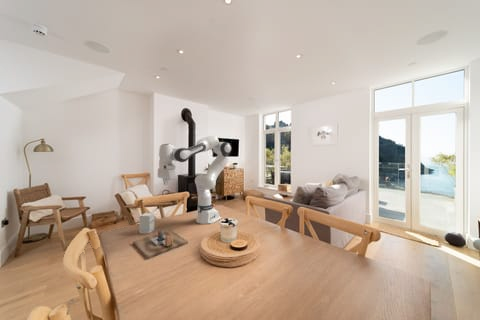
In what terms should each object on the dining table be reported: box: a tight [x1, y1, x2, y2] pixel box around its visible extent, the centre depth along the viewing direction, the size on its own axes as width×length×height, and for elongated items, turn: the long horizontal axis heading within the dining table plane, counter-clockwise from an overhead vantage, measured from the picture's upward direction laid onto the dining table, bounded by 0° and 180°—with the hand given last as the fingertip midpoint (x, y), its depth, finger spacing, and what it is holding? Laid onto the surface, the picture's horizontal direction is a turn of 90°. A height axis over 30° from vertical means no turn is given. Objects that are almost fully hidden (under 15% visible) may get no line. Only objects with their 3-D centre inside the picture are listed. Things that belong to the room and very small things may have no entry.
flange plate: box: [150, 235, 171, 246], centre depth 111 cm, size 16×9×6 cm, turn 47°
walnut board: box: [132, 229, 189, 260], centre depth 113 cm, size 24×24×8 cm
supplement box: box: [138, 212, 155, 235], centre depth 131 cm, size 7×7×13 cm
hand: (165, 184), depth 132 cm, fingers closed
